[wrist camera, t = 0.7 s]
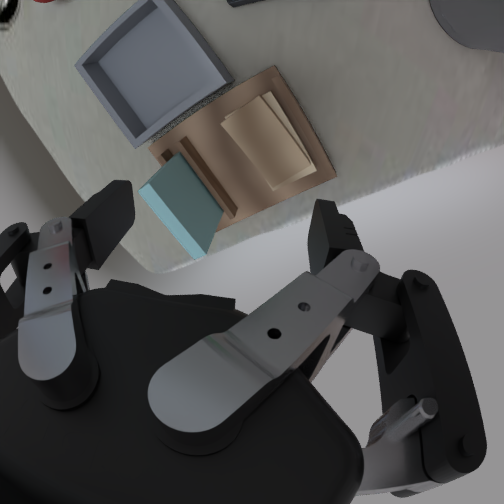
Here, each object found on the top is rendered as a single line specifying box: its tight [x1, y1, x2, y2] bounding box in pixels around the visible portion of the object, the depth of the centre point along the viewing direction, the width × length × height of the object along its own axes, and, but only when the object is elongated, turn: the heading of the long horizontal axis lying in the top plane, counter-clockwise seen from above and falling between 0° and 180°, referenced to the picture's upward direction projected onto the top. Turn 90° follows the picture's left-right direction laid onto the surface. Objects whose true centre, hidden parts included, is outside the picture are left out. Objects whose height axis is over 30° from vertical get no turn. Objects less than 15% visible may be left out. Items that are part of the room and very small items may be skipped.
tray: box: [74, 0, 234, 149], centre depth 23 cm, size 12×13×4 cm
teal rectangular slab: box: [138, 151, 224, 260], centre depth 27 cm, size 1×8×9 cm, turn 32°
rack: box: [148, 65, 337, 233], centre depth 28 cm, size 16×13×3 cm
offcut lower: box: [225, 90, 317, 191], centre depth 26 cm, size 5×9×1 cm, turn 32°
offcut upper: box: [221, 94, 311, 188], centre depth 25 cm, size 4×8×1 cm, turn 38°
